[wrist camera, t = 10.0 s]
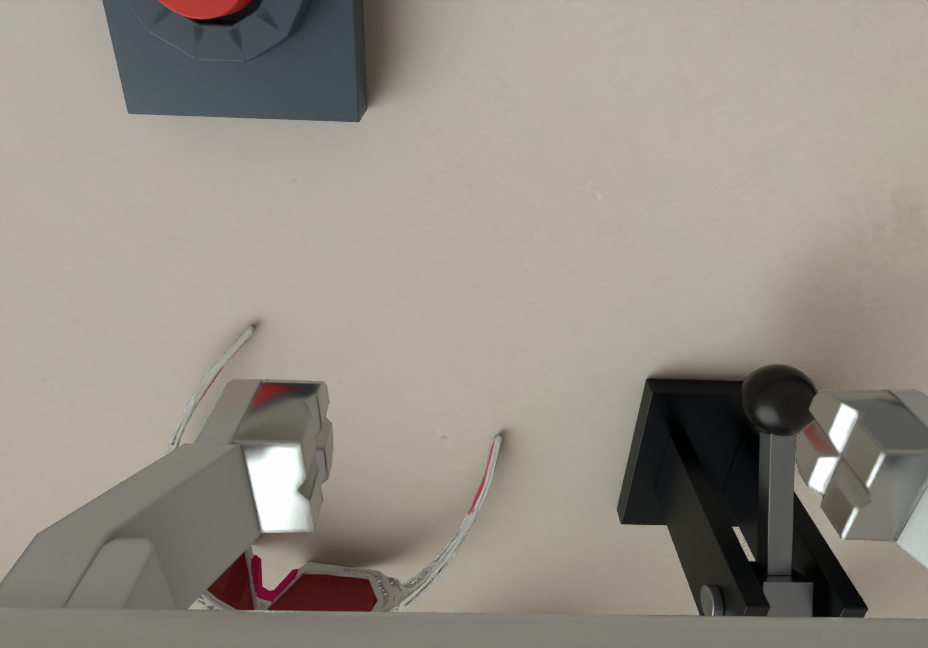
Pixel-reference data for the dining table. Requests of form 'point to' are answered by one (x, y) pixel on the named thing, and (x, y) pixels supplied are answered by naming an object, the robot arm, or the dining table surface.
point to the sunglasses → (316, 580)
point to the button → (205, 7)
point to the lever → (778, 481)
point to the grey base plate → (243, 60)
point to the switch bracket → (717, 500)
